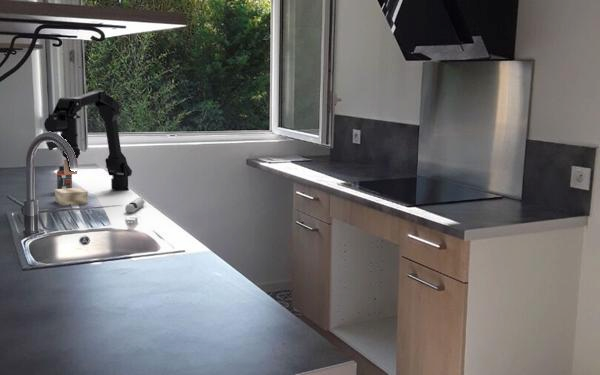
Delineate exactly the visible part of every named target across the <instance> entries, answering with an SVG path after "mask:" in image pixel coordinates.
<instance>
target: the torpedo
mask: <svg viewBox="0 0 600 375" xmlns="http://www.w3.org/2000/svg"><path fill="white" fill-rule="evenodd" d="M138 191H139V192H141V189H140V190H138ZM145 203H147V202H146V200H144V198H143V197H138V198H135V199H134V200H133V201H131V202H129V203H128V204H126V205H125V212H126V213H127V214H132V213H131V212H133V213H135V212H136V211H138V210H139V209H141V208H142V207H144V204H145Z"/></svg>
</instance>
